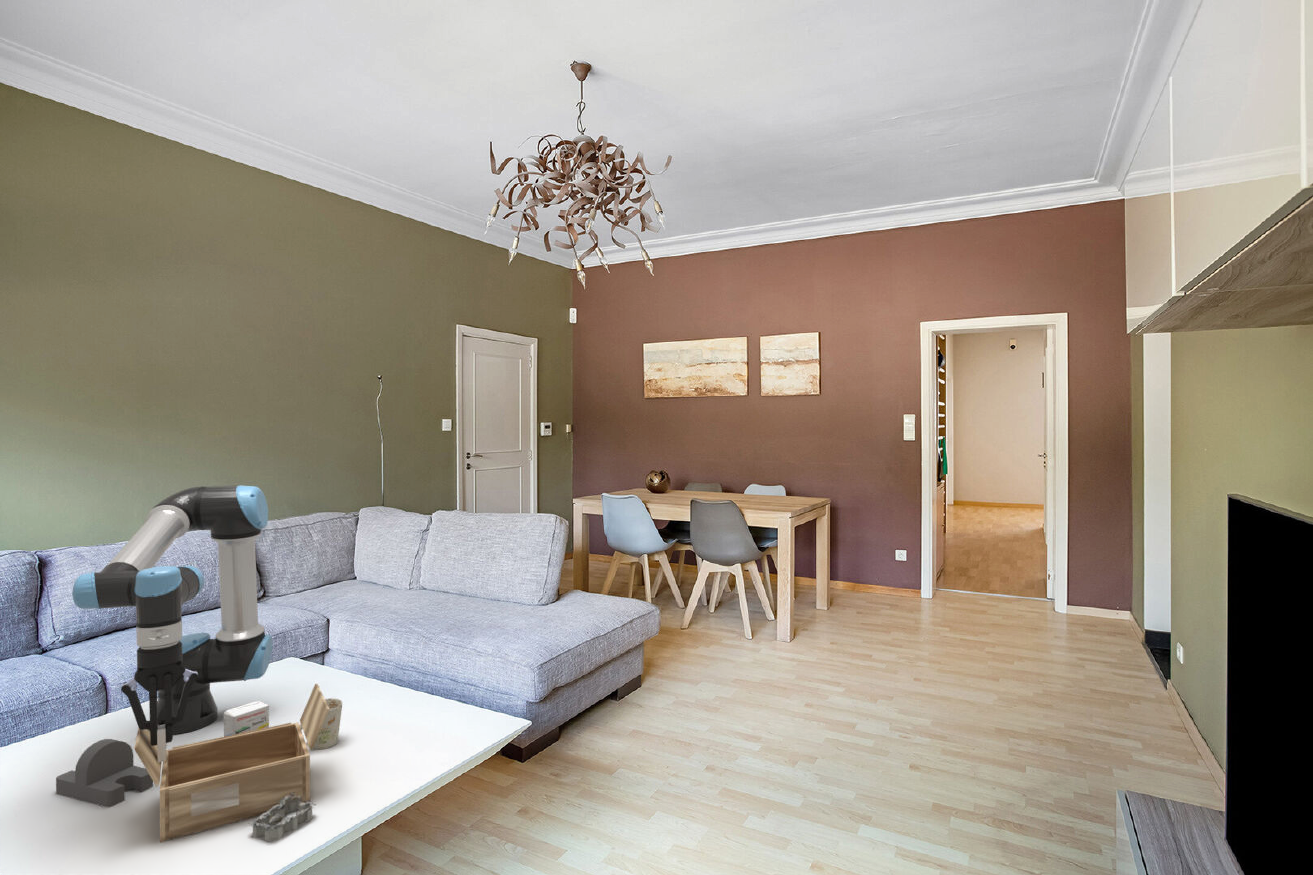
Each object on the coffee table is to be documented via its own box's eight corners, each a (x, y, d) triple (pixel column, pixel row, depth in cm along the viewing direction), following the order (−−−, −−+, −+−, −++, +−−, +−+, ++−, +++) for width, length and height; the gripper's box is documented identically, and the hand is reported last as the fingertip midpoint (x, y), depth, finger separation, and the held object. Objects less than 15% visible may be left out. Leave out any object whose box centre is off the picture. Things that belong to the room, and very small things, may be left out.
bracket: (109, 808, 144) (109, 757, 144) (53, 794, 150) (53, 745, 150) (155, 786, 154) (155, 738, 153) (101, 773, 159) (101, 727, 159)
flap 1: (163, 748, 148) (160, 750, 148) (143, 714, 146) (140, 716, 146) (159, 784, 133) (156, 786, 133) (137, 747, 131) (134, 748, 131)
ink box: (233, 765, 163) (233, 715, 163) (223, 759, 166) (222, 711, 165) (270, 751, 170) (269, 703, 170) (259, 746, 173) (259, 699, 173)
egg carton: (294, 809, 144) (294, 789, 144) (319, 817, 141) (319, 797, 141) (245, 835, 135) (245, 814, 135) (270, 845, 131) (270, 824, 131)
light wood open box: (164, 794, 150) (164, 749, 149) (298, 762, 164) (298, 720, 164) (159, 844, 131) (159, 792, 131) (310, 803, 146) (310, 756, 146)
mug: (349, 739, 176) (349, 700, 176) (310, 761, 165) (310, 720, 164) (324, 734, 179) (324, 696, 179) (284, 756, 167) (283, 715, 167)
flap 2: (315, 683, 164) (317, 683, 165) (299, 720, 162) (301, 720, 163) (327, 708, 149) (329, 708, 150) (309, 749, 147) (312, 749, 148)
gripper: (117, 654, 133) (120, 775, 134) (197, 642, 141) (200, 757, 141) (121, 645, 140) (124, 760, 140) (197, 634, 147) (200, 743, 147)
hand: (162, 758), depth 140 cm, fingers closed
